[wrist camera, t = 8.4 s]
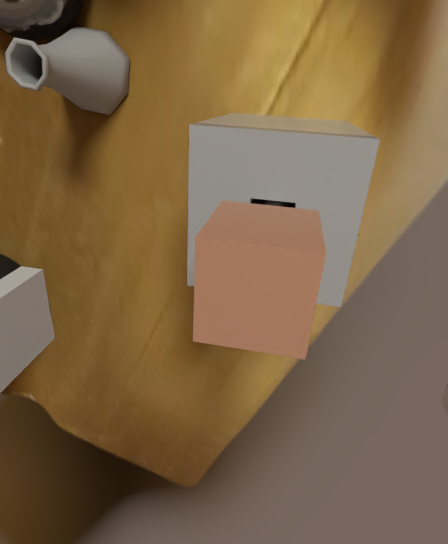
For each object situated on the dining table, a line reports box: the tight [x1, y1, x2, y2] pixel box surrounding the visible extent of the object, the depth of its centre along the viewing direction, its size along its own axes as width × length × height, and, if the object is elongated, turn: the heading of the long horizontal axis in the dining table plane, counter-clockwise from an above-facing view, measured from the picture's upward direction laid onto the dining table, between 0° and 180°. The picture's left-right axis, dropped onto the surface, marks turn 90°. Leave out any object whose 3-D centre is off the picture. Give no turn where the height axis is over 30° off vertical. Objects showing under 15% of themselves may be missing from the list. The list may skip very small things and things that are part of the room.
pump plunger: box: [193, 200, 326, 359], centre depth 22 cm, size 4×4×20 cm
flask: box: [5, 26, 130, 115], centre depth 30 cm, size 7×7×10 cm
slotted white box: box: [187, 113, 380, 307], centre depth 28 cm, size 10×10×16 cm
